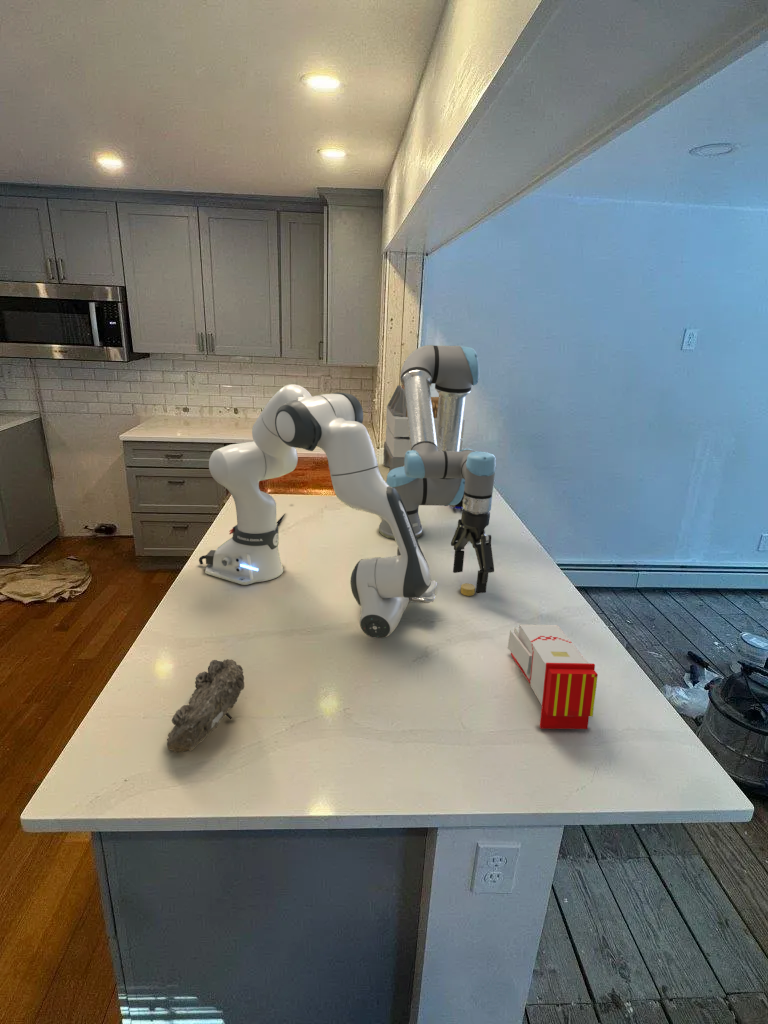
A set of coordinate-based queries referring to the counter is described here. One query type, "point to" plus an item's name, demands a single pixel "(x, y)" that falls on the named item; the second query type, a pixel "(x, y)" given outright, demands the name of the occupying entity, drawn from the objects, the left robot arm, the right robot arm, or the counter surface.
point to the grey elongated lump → (206, 705)
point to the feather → (280, 520)
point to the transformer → (401, 429)
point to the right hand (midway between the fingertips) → (468, 581)
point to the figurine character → (458, 505)
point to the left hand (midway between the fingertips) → (405, 573)
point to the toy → (555, 675)
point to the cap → (467, 589)
